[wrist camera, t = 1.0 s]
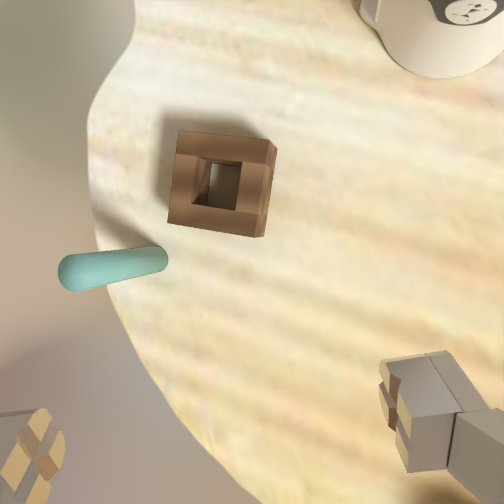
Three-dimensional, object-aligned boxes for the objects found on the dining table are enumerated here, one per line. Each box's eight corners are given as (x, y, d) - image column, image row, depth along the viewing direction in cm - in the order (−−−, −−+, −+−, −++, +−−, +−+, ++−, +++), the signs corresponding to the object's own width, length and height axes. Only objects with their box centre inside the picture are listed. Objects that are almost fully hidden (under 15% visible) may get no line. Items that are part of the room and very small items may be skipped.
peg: (146, 243, 51) (59, 251, 36) (169, 248, 51) (91, 258, 35) (143, 269, 52) (56, 287, 36) (166, 274, 51) (87, 295, 36)
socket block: (195, 139, 49) (178, 130, 44) (277, 148, 46) (269, 139, 41) (184, 223, 50) (167, 223, 45) (263, 236, 47) (254, 237, 42)
